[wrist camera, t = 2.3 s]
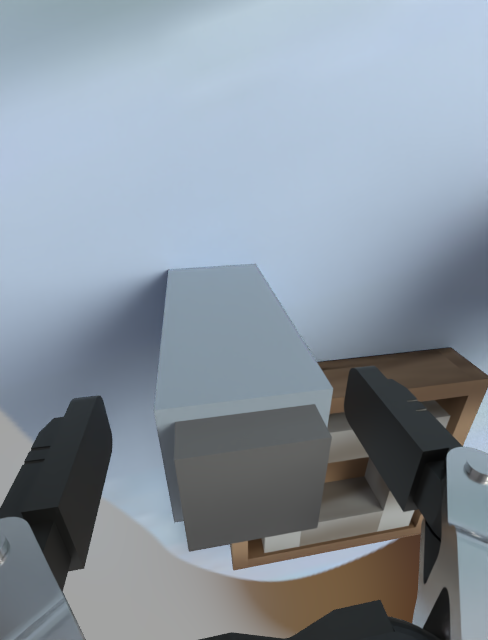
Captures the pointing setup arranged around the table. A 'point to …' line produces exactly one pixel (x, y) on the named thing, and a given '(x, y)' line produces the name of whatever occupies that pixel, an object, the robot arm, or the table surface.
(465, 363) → the walnut box
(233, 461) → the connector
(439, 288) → the table surface
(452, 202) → the table surface
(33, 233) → the table surface
